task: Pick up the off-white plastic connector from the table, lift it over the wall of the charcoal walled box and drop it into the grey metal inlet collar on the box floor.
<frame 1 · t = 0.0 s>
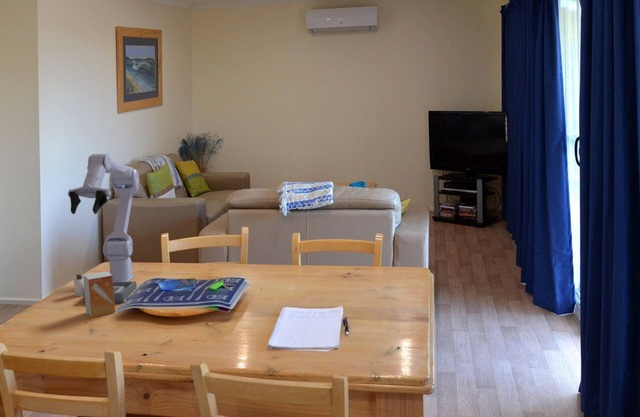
hand: (83, 212, 244), 32 cm above the table, tool tilted 50°, fingers open, 7 cm apart
small box: (100, 313, 240), on the table
walled box: (111, 296, 257), on the table
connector: (81, 294, 260), on the table
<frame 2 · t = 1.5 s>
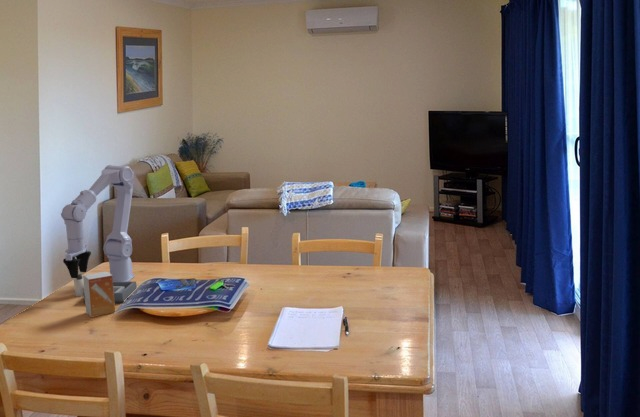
hand: (79, 274, 259), 7 cm above the table, tool pointing down, fingers open, 7 cm apart
nothing on the table moved.
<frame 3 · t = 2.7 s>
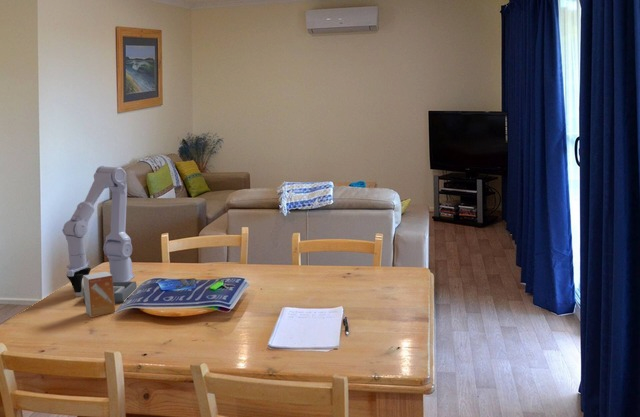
hand: (80, 290, 260), 2 cm above the table, tool pointing down, fingers closed on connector, 4 cm apart
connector: (81, 294, 260), on the table, touching gripper
everything else where it was.
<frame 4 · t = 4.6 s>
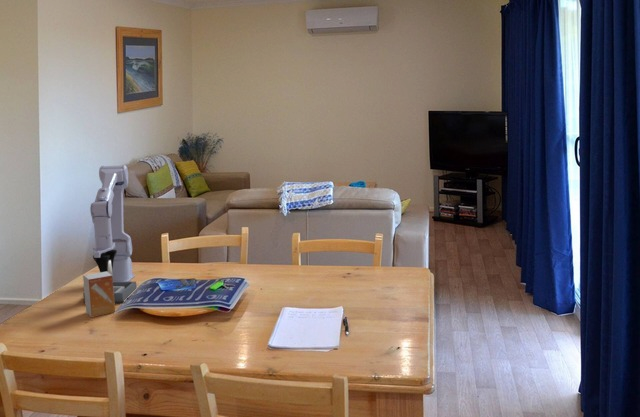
hand: (106, 272, 256), 9 cm above the table, tool pointing down, fingers closed on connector, 4 cm apart
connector: (106, 277, 256), point 7 cm above the table, touching gripper
everything else where it was.
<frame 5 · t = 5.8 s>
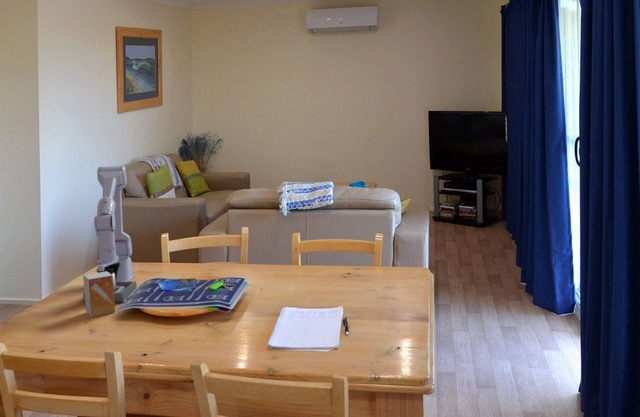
hand: (110, 285, 256), 4 cm above the table, tool pointing down, fingers closed on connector, 4 cm apart
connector: (110, 290, 257), point 2 cm above the table, touching gripper
everything else where it was.
when the fingers open (3 cm above the table, at t = 6.4 s): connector drops 1 cm, resting on walled box.
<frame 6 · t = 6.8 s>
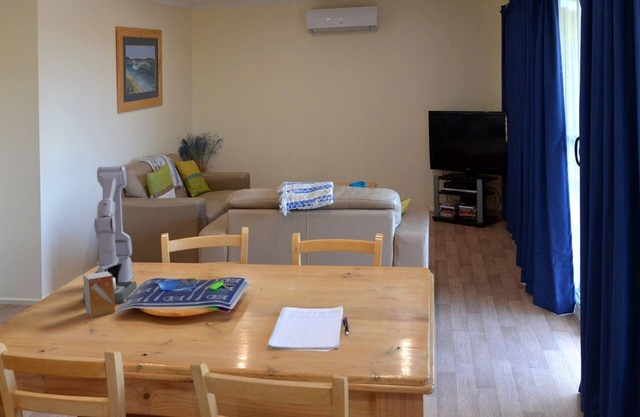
hand: (110, 287, 256), 3 cm above the table, tool pointing down, fingers open, 7 cm apart
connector: (110, 295, 257), point 1 cm above the table, touching walled box
everything else where it was.
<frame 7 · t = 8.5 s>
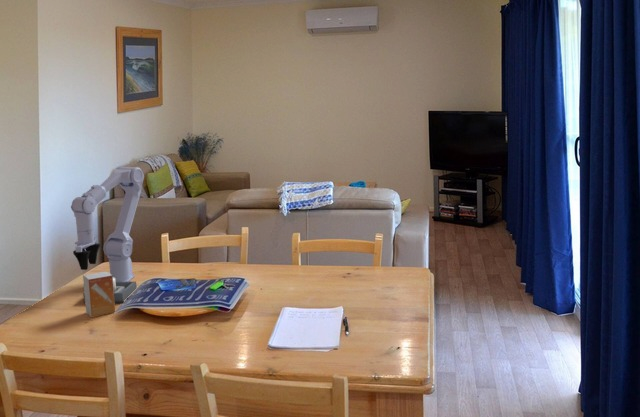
hand: (88, 266, 262), 9 cm above the table, tool pointing down, fingers open, 7 cm apart
nothing on the table moved.
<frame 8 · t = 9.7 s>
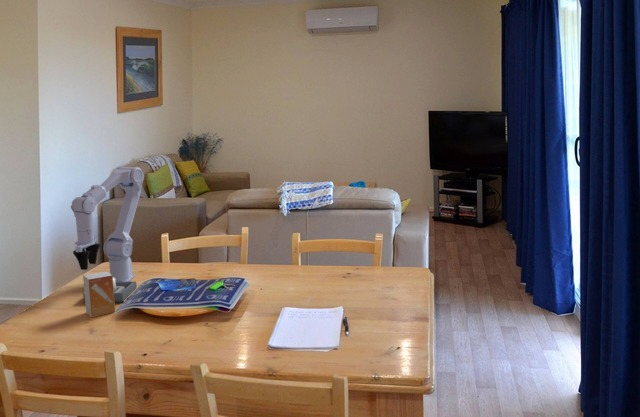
hand: (88, 266, 262), 9 cm above the table, tool pointing down, fingers open, 7 cm apart
nothing on the table moved.
at the end: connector 0.1 cm off-centre on the walled box, point 0.6 cm above the walled box's base; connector tilted 0°; the gripper is holding nothing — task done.
